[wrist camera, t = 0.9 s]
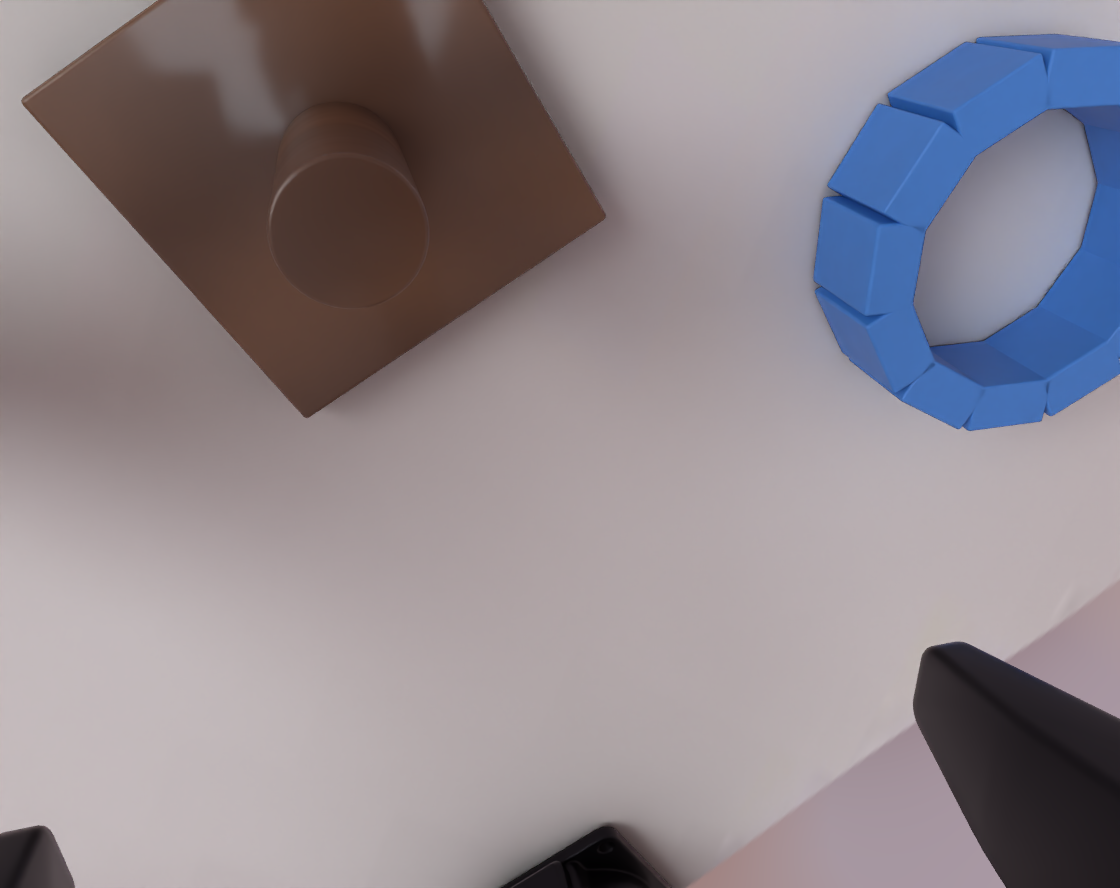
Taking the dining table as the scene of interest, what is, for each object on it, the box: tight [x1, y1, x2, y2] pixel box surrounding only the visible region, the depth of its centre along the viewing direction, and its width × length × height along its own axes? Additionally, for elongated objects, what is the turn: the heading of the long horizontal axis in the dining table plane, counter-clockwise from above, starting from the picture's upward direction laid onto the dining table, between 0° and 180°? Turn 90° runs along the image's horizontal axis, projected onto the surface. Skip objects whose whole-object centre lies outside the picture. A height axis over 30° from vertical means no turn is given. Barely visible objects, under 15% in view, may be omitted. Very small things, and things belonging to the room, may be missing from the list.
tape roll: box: [814, 34, 1120, 431], centre depth 22 cm, size 9×9×3 cm
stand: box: [22, 0, 606, 418], centre depth 16 cm, size 8×8×6 cm
